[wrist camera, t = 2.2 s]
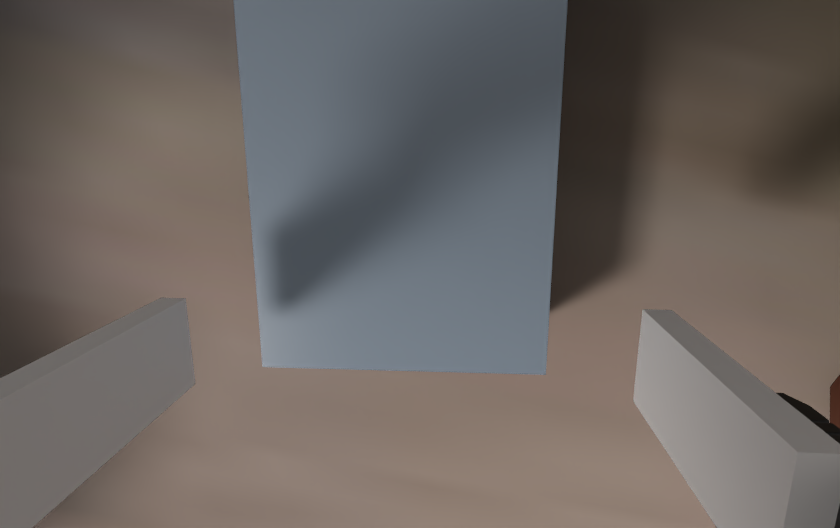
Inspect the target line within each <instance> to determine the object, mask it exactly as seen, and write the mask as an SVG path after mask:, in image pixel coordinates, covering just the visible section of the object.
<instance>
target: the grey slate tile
mask: <svg viewBox="0 0 840 528" xmlns="http://www.w3.org/2000/svg"><path fill="white" fill-rule="evenodd" d="M567 3H568V0H234V13H235V26H236V38H237V51H238V63H239V76H240V89H241V101H242V114H243V126H244V139H245V152H246V164H247V177H248V189H249V202H250V215H251V227H252V240H253V252H254V265H255V278H256V290H257V303H258V315H259V328H260V341H261V353H262V366H263V367H280V368H317V369H354V370H391V371H428V372H465V373H502V374H540V375H546V361H547V344H548V327H549V310H550V293H551V276H552V258H553V241H554V224H555V207H556V190H557V173H558V156H559V139H560V122H561V105H562V88H563V71H564V54H565V37H566V20H567Z"/></svg>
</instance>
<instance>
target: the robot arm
mask: <svg viewBox="0 0 840 528" xmlns="http://www.w3.org/2000/svg"><path fill="white" fill-rule="evenodd" d="M194 384H195V377H194V368H193V359H192V350H191V342H190V333H189V324H188V315H187V307H186V298H160V299H158V300H156V301H154V302H152V303H150V304H148V305H146V306H144V307H142V308H140V309H138V310H136V311H134V312H132V313H130V314H128V315H126V316H124V317H122V318H120V319H118V320H116V321H114V322H112V323H110V324H108V325H106V326H104V327H102V328H100V329H98V330H96V331H94V332H92V333H90V334H88V335H86V336H84V337H82V338H80V339H78V340H76V341H74V342H72V343H70V344H68V345H66V346H64V347H62V348H60V349H58V350H56V351H54V352H52V353H50V354H48V355H46V356H44V357H42V358H40V359H38V360H36V361H34V362H32V363H30V364H28V365H26V366H24V367H22V368H20V369H18V370H16V371H14V372H12V373H10V374H8V375H6V376H4V377H2V378H0V528H32V527H34V526H35V525H36V524H37V523H38V522H39V521H40V520H41V519H43V518H44V517H45V516H46V515H47V514H48V513H49V512H51V511H52V510H53V509H54V508H55V507H56V506H57V505H58V504H60V503H61V502H62V501H63V500H64V499H65V498H66V497H68V496H69V495H70V494H71V493H72V492H73V491H74V490H75V489H77V488H78V487H79V486H80V485H81V484H82V483H83V482H85V481H86V480H87V479H88V478H89V477H90V476H91V475H92V474H94V473H95V472H96V471H97V470H98V469H99V468H100V467H102V466H103V465H104V464H105V463H106V462H107V461H108V460H109V459H111V458H112V457H113V456H114V455H115V454H116V453H117V452H119V451H120V450H121V449H122V448H123V447H124V446H125V445H126V444H128V443H129V442H130V441H131V440H132V439H133V438H134V437H136V436H137V435H138V434H139V433H140V432H141V431H142V430H143V429H145V428H146V427H147V426H148V425H149V424H150V423H151V422H153V421H154V420H155V419H156V418H157V417H158V416H159V415H160V414H162V413H163V412H164V411H165V410H166V409H167V408H168V407H170V406H171V405H172V404H173V403H174V402H175V401H176V400H177V399H179V398H180V397H181V396H182V395H183V394H184V393H185V392H186V391H188V390H189V389H190V388H191V387H192V386H193V385H194ZM633 401H634V403H635V404H636V406H637V407H638V409H639V410H640V412H641V413H642V415H643V417H644V418H645V420H646V421H647V423H648V424H649V426H650V427H651V429H652V430H653V432H654V433H655V435H656V436H657V438H658V439H659V441H660V442H661V444H662V445H663V447H664V448H665V450H666V451H667V453H668V454H669V456H670V457H671V459H672V461H673V462H674V464H675V465H676V467H677V468H678V470H679V471H680V473H681V474H682V476H683V477H684V479H685V480H686V482H687V483H688V485H689V486H690V488H691V489H692V491H693V492H694V494H695V495H696V497H697V498H698V500H699V501H700V503H701V505H702V506H703V508H704V509H705V511H706V512H707V514H708V515H709V517H710V518H711V520H712V521H713V523H714V524H715V526H716V527H717V528H840V428H838V427H837V426H836V425H834V424H833V423H829V420H828V419H826V418H825V417H824V416H822V415H821V414H820V413H818V412H817V411H816V410H814V409H813V408H812V407H810V406H809V405H807V404H805V403H802V402H800V401H798V400H796V399H794V398H792V397H790V396H788V395H786V394H784V393H775V392H774V391H773V390H771V389H770V388H769V387H768V386H766V385H765V384H764V383H763V382H761V381H760V380H759V379H758V378H756V377H755V376H754V375H753V374H751V373H750V372H749V371H748V370H746V369H745V368H744V367H742V366H741V365H740V364H739V363H737V362H736V361H735V360H734V359H732V358H731V357H730V356H729V355H727V354H726V353H725V352H724V351H722V350H721V349H720V348H719V347H717V346H716V345H715V344H714V343H712V342H711V341H710V340H709V339H707V338H706V337H705V336H704V335H702V334H701V333H700V332H699V331H697V330H696V329H695V328H693V327H692V326H691V325H690V324H688V323H687V322H686V321H685V320H683V319H682V318H681V317H680V316H678V315H677V314H676V313H675V312H673V311H672V310H648V309H643V311H642V320H641V330H640V340H639V349H638V359H637V369H636V378H635V388H634V398H633Z"/></svg>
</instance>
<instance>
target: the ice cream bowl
mask: <svg viewBox="0 0 840 528" xmlns="http://www.w3.org/2000/svg"><path fill="white" fill-rule="evenodd" d="M830 423H833V424H834V425H836V426H837V427H838V428H840V375H839V377H838V378H837V379H836V380H835V382H834V383H833V384H832V386H831V387H830Z"/></svg>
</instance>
